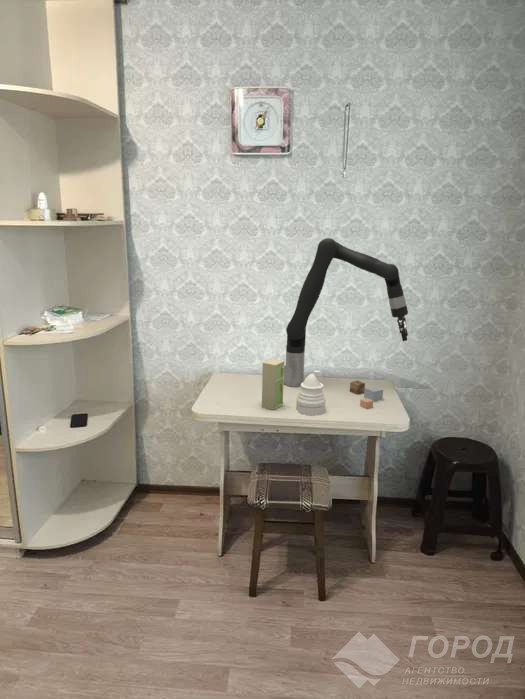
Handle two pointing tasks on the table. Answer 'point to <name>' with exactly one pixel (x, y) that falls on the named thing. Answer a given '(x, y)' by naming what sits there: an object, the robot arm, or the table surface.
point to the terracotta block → (366, 403)
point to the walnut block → (357, 387)
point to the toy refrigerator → (272, 384)
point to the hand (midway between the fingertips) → (405, 338)
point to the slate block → (373, 393)
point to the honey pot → (311, 396)
